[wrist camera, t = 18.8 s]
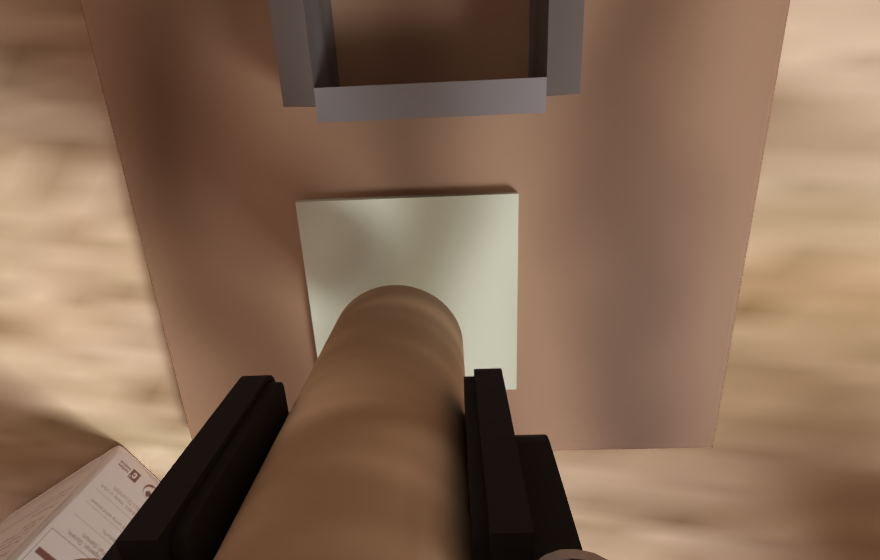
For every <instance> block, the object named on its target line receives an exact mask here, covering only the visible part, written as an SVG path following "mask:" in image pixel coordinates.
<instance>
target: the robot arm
mask: <svg viewBox="0 0 880 560" xmlns="http://www.w3.org/2000/svg"><path fill="white" fill-rule="evenodd" d="M464 406H465V429H466V448H467V467H468V486H469V505H470V524H471V543H472V560H607V559H605V558H603V557H601V556H599V555H597V554H595V553H592V552H587V551H583V550H582V547H581V544H580V540H579V537H578V534H577V530H576V527H575V524H574V521H573V517H572V514H571V511H570V507H569V504H568V501H567V497H566V494H565V491H564V487H563V484H562V481H561V477H560V474H559V471H558V467H557V464H556V461H555V457H554V454H553V451H552V448H551V444H550V441H549V439H548V436H547V435H546V434H536V435H515V433H514V428H513V423H512V418H511V413H510V408H509V403H508V398H507V393H506V388H505V383H504V378H503V373H502V369H501V368H490V369H474V376H465V377H464ZM288 415H289V411H288V405H287V400H286V394H285V388H284V385H283V383H282V382H276V381H275V379H274V377H273V376H272V375H255V376H242V377H241V378H240V379H239V380H238V381H237V383H236V384H235V385H234V386H233V388H232V389H231V390H230V392H229V393H228V394H227V396H226V397H225V398H224V400H223V401H222V402H221V403H220V405H219V406H218V407H217V409H216V410H215V411H214V413H213V414H212V415H211V416H210V418H209V419H208V420H207V422H206V423H205V424H204V426H203V427H202V428H201V430H200V431H199V432H198V433H197V435H196V436H195V437H194V439H193V440H192V441H191V443H190V444H189V445H188V447H187V448H186V449H185V450H184V452H183V453H182V454H181V456H180V457H179V458H178V460H177V461H176V462H175V464H174V465H173V466H172V467H171V469H170V470H169V471H168V473H167V474H166V475H165V477H164V478H163V479H162V480H161V482H160V483H159V484H158V486H157V487H156V488H155V490H154V491H153V492H152V494H151V495H150V496H149V497H148V499H147V500H146V501H145V503H144V504H143V505H142V507H141V508H140V509H139V511H138V512H137V513H136V514H135V516H134V517H133V518H132V520H131V521H130V522H129V524H128V525H127V526H126V528H125V529H124V530H123V531H122V533H121V534H120V535H119V537H118V538H117V539H116V541H115V542H114V544H113V545H112V546H111V547H110V549H109V550H108V551H107V553H106V554H105V555H104V557H103V558H102V559H101V560H213V559H214V557H215V556H216V554H217V552H218V550H219V548H220V546H221V544H222V542H223V540H224V538H225V536H226V534H227V532H228V530H229V529H230V527H231V525H232V523H233V521H234V519H235V517H236V515H237V513H238V511H239V509H240V507H241V505H242V503H243V501H244V500H245V498H246V496H247V494H248V492H249V490H250V488H251V486H252V484H253V482H254V480H255V478H256V476H257V474H258V473H259V471H260V469H261V467H262V465H263V463H264V461H265V459H266V457H267V455H268V453H269V451H270V449H271V447H272V445H273V444H274V442H275V440H276V438H277V436H278V434H279V432H280V430H281V428H282V426H283V424H284V422H285V420H286V418H287V416H288ZM75 560H99V559H96V558H80V559H75Z"/></svg>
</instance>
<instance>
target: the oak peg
mask: <svg viewBox="0 0 880 560" xmlns="http://www.w3.org/2000/svg"><path fill="white" fill-rule="evenodd" d="M464 377H465V367H464V351H463V339H462V333H461V329H460V327H459V324H458V322H457V320H456V318H455V316H454V315H453V313H452V312H451V311H450V309H449V308H448V307H447V306H446V305H445V304H444V303H443V302H442V301H440V300H439V299H438V298H436V297H435V296H433V295H432V294H430V293H428V292H426V291H423V290H421V289H418V288H415V287H411V286H404V285H387V286H381V287H377V288H374V289H371V290H368V291H366V292H364V293H362V294H360V295H359V296H358V297H356V298H355V299H353V300H352V301H351V302H350V303H349V304H348V305H347V306H346V307H345V309H344V310H343V311H342V313H341V315H340V316H339V318H338V320H337V322H336V324H335V326H334V328H333V330H332V332H331V333H330V335H329V337H328V339H327V341H326V343H325V345H324V347H323V349H322V351H321V353H320V355H319V357H318V359H317V360H316V362H315V364H314V366H313V368H312V370H311V372H310V374H309V376H308V378H307V380H306V382H305V384H304V386H303V388H302V389H301V391H300V393H299V395H298V397H297V399H296V401H295V403H294V405H293V407H292V409H291V411H290V413H289V415H288V416H287V418H286V420H285V422H284V424H283V426H282V428H281V430H280V432H279V434H278V436H277V438H276V440H275V442H274V444H273V445H272V447H271V449H270V451H269V453H268V455H267V457H266V459H265V461H264V463H263V465H262V467H261V469H260V471H259V473H258V474H257V476H256V478H255V480H254V482H253V484H252V486H251V488H250V490H249V492H248V494H247V496H246V498H245V500H244V501H243V503H242V505H241V507H240V509H239V511H238V513H237V515H236V517H235V519H234V521H233V523H232V525H231V527H230V529H229V530H228V532H227V534H226V536H225V538H224V540H223V542H222V544H221V546H220V548H219V550H218V552H217V554H216V556H215V557H214V559H213V560H472V543H471V524H470V505H469V486H468V467H467V448H466V429H465V406H464Z"/></svg>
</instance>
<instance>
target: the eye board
mask: <svg viewBox="0 0 880 560" xmlns="http://www.w3.org/2000/svg"><path fill="white" fill-rule="evenodd" d="M80 3H81V7H82V11H83V15H84V18H85V22H86V26H87V30H88V34H89V38H90V42H91V46H92V50H93V54H94V58H95V62H96V65H97V69H98V73H99V77H100V81H101V85H102V89H103V93H104V97H105V101H106V105H107V109H108V112H109V116H110V120H111V124H112V128H113V132H114V136H115V140H116V144H117V148H118V152H119V156H120V159H121V163H122V167H123V171H124V175H125V179H126V183H127V187H128V191H129V195H130V199H131V203H132V206H133V210H134V214H135V218H136V222H137V226H138V230H139V234H140V238H141V242H142V246H143V250H144V254H145V257H146V261H147V265H148V269H149V273H150V277H151V281H152V285H153V289H154V293H155V297H156V301H157V304H158V308H159V312H160V316H161V320H162V324H163V328H164V332H165V336H166V340H167V344H168V348H169V351H170V355H171V359H172V363H173V367H174V371H175V375H176V379H177V383H178V387H179V391H180V395H181V398H182V402H183V406H184V410H185V414H186V418H187V422H188V426H189V430H190V434H191V438H192V440H193V439H194V437H195V436H196V435H197V433H198V432H199V431H200V430H201V428H202V427H203V426H204V424H205V423H206V422H207V420H208V419H209V418H210V416H211V415H212V414H213V413H214V411H215V410H216V409H217V407H218V406H219V405H220V403H221V402H222V401H223V400H224V398H225V397H226V396H227V394H228V393H229V392H230V390H231V389H232V388H233V386H234V385H235V384H236V383H237V381H238V380H239V379H240V378H241V377H242V376H255V375H272V376H273V377H274V379H275V381H276V382H282V383H283V385H284V388H285V394H286V400H287V405H288V411H289V413H290V411H291V409H292V407H293V405H294V403H295V401H296V399H297V397H298V395H299V393H300V391H301V389H302V388H303V386H304V384H305V382H306V380H307V378H308V376H309V374H310V372H311V370H312V368H313V366H314V364H315V362H316V360H317V359H318V357H319V355H320V353H321V351H322V349H323V347H324V345H325V343H326V341H327V339H328V337H329V335H330V333H331V332H332V330H333V328H334V326H335V324H336V322H337V320H338V318H339V316H340V315H341V313H342V311H343V310H344V309H345V307H346V306H347V305H348V304H349V303H350V302H351V301H352V300H353V299H355V298H356V297H358V296H359V295H360V294H362V293H364V292H366V291H368V290H371V289H374V288H377V287H381V286H387V285H404V286H411V287H415V288H418V289H421V290H423V291H426V292H428V293H430V294H432V295H433V296H435V297H436V298H438V299H439V300H440V301H442V302H443V303H444V304H445V305H446V306H447V307H448V308H449V309H450V311H451V312H452V313H453V315H454V316H455V318H456V320H457V322H458V324H459V327H460V329H461V333H462V339H463V351H464V367H465V376H474V369H490V368H501V369H502V373H503V378H504V383H505V388H506V393H507V398H508V403H509V408H510V413H511V418H512V423H513V428H514V433H515V435H536V434H546V435H547V436H548V439H549V441H550V444H551V448H552V450H597V449H647V448H697V447H713V441H714V435H715V430H716V424H717V418H718V412H719V407H720V401H721V395H722V389H723V384H724V378H725V372H726V366H727V361H728V355H729V349H730V343H731V338H732V332H733V326H734V320H735V315H736V309H737V303H738V297H739V292H740V286H741V280H742V274H743V269H744V263H745V257H746V251H747V246H748V240H749V234H750V228H751V223H752V217H753V211H754V205H755V200H756V194H757V188H758V182H759V177H760V171H761V165H762V159H763V154H764V148H765V142H766V136H767V131H768V125H769V119H770V113H771V108H772V102H773V96H774V90H775V85H776V79H777V73H778V67H779V62H780V56H781V50H782V44H783V39H784V33H785V27H786V21H787V16H788V10H789V4H790V0H80Z"/></svg>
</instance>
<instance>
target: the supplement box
mask: <svg viewBox="0 0 880 560" xmlns="http://www.w3.org/2000/svg"><path fill="white" fill-rule="evenodd" d="M159 483H160V481H159V480H158V479H157V478H156V477H155V476H154V475H153V474H152V473H151V472H150V471H149V470H147V469H146V468H145V467H144V466H143V465H142V464H141V463H140V462H139V461H138V460H137V459H136V458H135V457H134V456H133V455H131V454H130V453H129V452H128V451H127V450H126V449H125V448H123V447H122V446H120V445H117V446H115V447H114V448H112V449H110V450H109V451H107V452H106V453H104V454H102V455H101V456H99V457H97V458H96V459H94V460H92V461H91V462H89V463H88V464H86V465H85V466H83V467H82V468H80V469H79V470H77V471H76V472H74V473H72V474H71V475H69V476H68V477H66V478H65V479H63V480H62V481H60V482H59V483H57V484H56V485H54V486H53V487H51V488H50V489H48V490H47V491H45V492H44V493H42V494H41V495H39V496H38V497H36V498H34V499H33V500H31V501H30V502H28V503H27V504H25V505H24V506H22V507H21V508H19V509H18V510H16V511H15V512H13V513H12V514H10V515H9V516H8V517H7V518H6V519H5V520H4V521H3V522H2V523H1V524H0V560H75V559H80V558H96V559H99V560H101V559H102V558H103V557H104V555H105V554H106V553H107V551H108V550H109V549H110V547H111V546H112V545H113V544H114V542H115V541H116V539H117V538H118V537H119V535H120V534H121V533H122V531H123V530H124V529H125V528H126V526H127V525H128V524H129V522H130V521H131V520H132V518H133V517H134V516H135V514H136V513H137V512H138V511H139V509H140V508H141V507H142V505H143V504H144V503H145V501H146V500H147V499H148V497H149V496H150V495H151V494H152V492H153V491H154V490H155V488H156V487H157V486H158V484H159Z"/></svg>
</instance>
